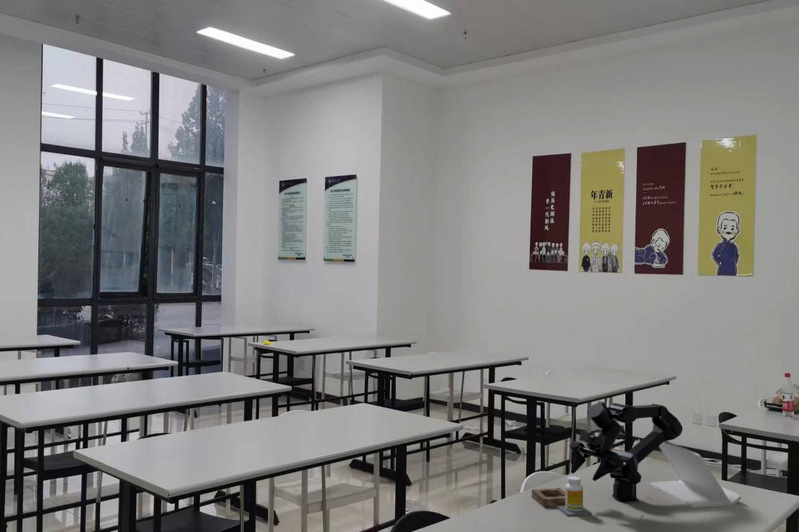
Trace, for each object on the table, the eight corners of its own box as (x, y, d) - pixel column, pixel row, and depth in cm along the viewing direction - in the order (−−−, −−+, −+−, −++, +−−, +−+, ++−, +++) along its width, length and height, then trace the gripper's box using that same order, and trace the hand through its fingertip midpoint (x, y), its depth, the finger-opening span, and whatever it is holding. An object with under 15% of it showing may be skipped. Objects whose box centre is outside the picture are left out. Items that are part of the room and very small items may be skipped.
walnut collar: (559, 495, 224) (559, 487, 224) (572, 505, 214) (572, 497, 214) (531, 497, 222) (531, 489, 222) (543, 507, 213) (543, 499, 213)
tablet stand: (693, 508, 213) (692, 454, 213) (648, 484, 237) (648, 436, 237) (742, 504, 216) (742, 452, 217) (693, 482, 241) (693, 434, 241)
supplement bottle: (586, 511, 207) (586, 479, 207) (570, 512, 206) (570, 480, 206) (578, 505, 212) (578, 474, 213) (562, 506, 211) (562, 475, 212)
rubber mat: (580, 506, 214) (580, 504, 214) (591, 514, 206) (591, 512, 206) (556, 507, 212) (556, 505, 212) (567, 516, 204) (567, 514, 204)
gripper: (572, 416, 222) (548, 454, 217) (616, 427, 206) (591, 468, 200) (590, 436, 226) (566, 474, 221) (634, 448, 210) (610, 490, 204)
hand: (582, 476), depth 211 cm, fingers open, 9 cm apart
